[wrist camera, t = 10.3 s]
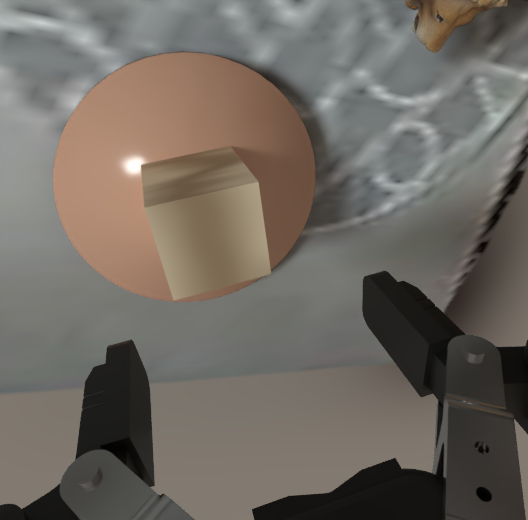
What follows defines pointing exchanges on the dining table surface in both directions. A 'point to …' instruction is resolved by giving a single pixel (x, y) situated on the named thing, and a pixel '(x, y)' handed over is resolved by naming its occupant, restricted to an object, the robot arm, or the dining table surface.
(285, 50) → the dining table surface
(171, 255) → the birch block
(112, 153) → the dish
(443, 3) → the lion figurine
